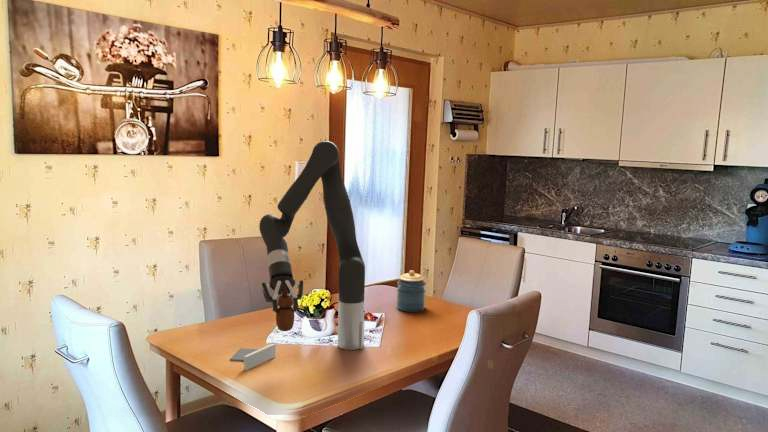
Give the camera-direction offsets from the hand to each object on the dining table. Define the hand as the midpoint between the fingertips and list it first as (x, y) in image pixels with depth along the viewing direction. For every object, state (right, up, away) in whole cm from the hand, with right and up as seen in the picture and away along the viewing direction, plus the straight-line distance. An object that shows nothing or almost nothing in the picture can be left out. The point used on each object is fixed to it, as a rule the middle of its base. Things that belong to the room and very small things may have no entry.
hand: (286, 311), depth 180 cm
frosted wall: (-10, -19, +8) cm, 23 cm away
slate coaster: (-15, -18, +14) cm, 27 cm away
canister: (+43, -12, +75) cm, 87 cm away
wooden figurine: (-1, -7, +3) cm, 7 cm away
